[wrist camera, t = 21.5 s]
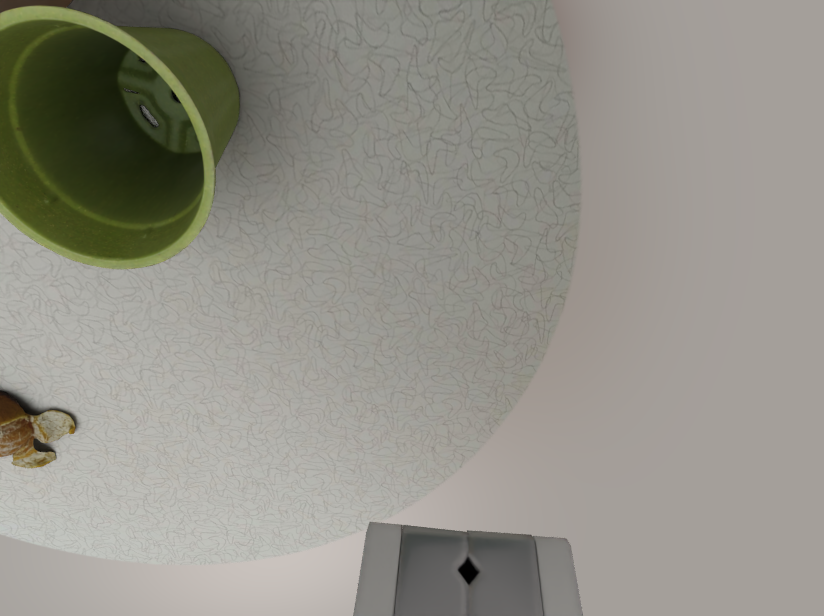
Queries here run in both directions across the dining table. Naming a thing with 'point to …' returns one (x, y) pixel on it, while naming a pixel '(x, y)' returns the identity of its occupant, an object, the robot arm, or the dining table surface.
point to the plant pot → (109, 135)
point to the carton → (31, 3)
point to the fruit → (29, 432)
